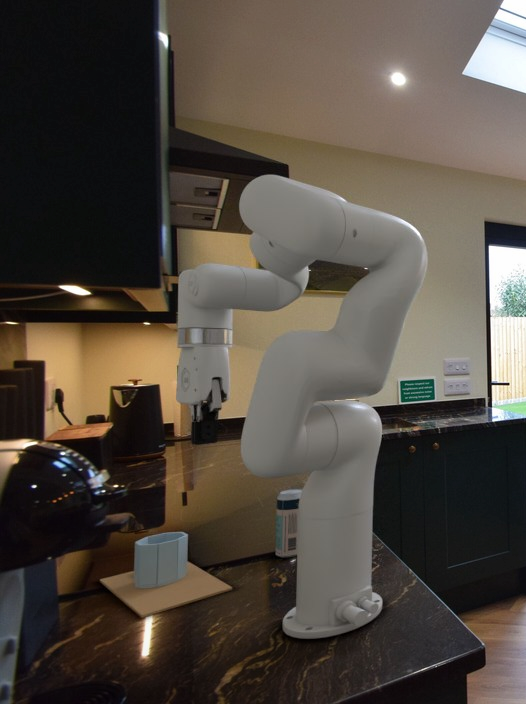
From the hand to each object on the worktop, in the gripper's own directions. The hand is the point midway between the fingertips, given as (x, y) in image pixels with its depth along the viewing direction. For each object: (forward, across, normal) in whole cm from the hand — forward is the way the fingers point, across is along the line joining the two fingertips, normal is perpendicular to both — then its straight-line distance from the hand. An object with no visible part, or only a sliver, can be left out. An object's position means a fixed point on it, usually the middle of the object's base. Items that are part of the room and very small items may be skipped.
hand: (204, 443), depth 92 cm
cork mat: (+23, +1, -5) cm, 23 cm away
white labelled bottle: (+23, +3, +13) cm, 26 cm away
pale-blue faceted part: (+19, +2, -5) cm, 20 cm away
